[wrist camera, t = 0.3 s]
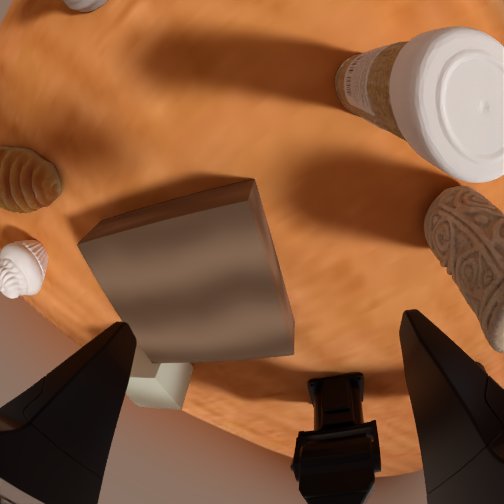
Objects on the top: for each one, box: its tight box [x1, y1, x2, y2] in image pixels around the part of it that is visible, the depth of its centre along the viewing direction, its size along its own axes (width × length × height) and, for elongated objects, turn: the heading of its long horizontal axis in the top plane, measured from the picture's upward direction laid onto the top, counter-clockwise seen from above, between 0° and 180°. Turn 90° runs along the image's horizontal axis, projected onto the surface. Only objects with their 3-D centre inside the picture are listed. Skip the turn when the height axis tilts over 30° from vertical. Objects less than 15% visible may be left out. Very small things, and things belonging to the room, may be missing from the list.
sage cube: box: [125, 343, 194, 410], centre depth 31 cm, size 6×6×6 cm
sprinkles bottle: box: [335, 27, 504, 183], centre depth 11 cm, size 5×5×14 cm
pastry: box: [0, 146, 61, 213], centre depth 21 cm, size 9×7×4 cm
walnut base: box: [77, 179, 295, 363], centre depth 25 cm, size 14×14×4 cm
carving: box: [424, 186, 504, 353], centre depth 16 cm, size 6×8×12 cm
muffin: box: [0, 240, 48, 299], centre depth 25 cm, size 6×6×7 cm
